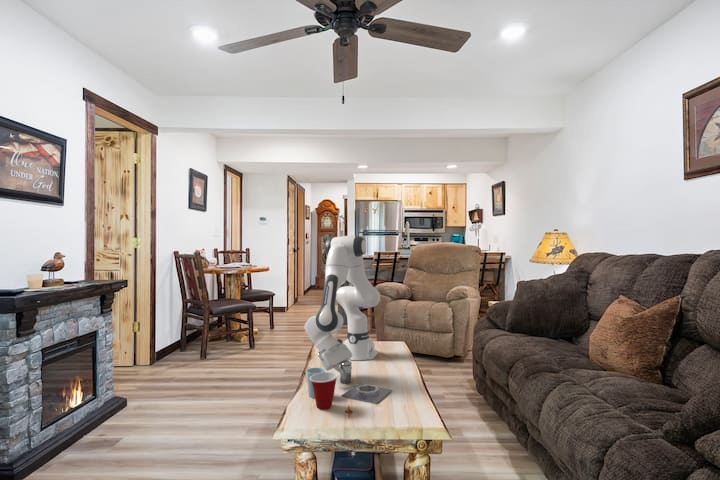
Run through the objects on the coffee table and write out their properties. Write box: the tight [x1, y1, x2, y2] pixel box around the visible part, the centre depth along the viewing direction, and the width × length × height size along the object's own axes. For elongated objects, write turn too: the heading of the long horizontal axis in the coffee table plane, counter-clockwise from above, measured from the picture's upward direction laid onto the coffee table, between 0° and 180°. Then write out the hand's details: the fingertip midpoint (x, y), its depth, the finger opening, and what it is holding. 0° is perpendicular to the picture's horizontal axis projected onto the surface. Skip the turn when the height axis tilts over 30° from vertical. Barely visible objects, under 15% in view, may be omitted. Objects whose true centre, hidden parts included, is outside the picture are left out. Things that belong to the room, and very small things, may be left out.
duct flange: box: [341, 383, 393, 405], centre depth 169 cm, size 16×16×2 cm
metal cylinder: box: [339, 360, 352, 385], centre depth 183 cm, size 5×5×9 cm
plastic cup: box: [310, 371, 339, 411], centre depth 155 cm, size 11×11×12 cm
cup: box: [305, 367, 326, 399], centre depth 166 cm, size 8×8×10 cm
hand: (347, 371), depth 182 cm, fingers closed on metal cylinder, 5 cm apart
